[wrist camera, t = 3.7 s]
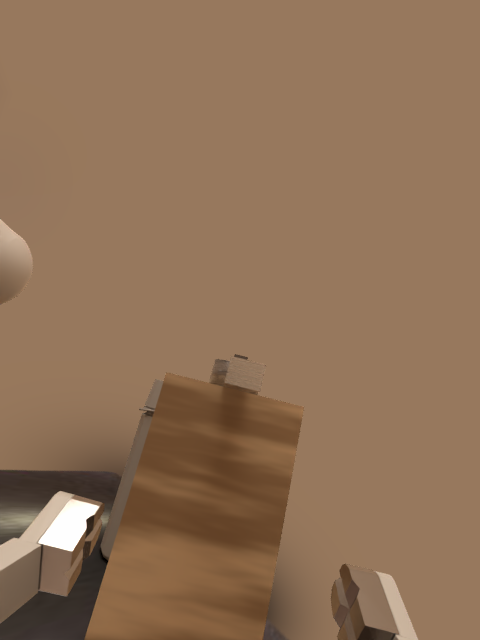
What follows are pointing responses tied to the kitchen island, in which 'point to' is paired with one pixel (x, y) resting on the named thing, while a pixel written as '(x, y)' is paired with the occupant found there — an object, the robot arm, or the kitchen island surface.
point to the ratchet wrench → (238, 374)
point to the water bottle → (130, 470)
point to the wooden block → (201, 518)
